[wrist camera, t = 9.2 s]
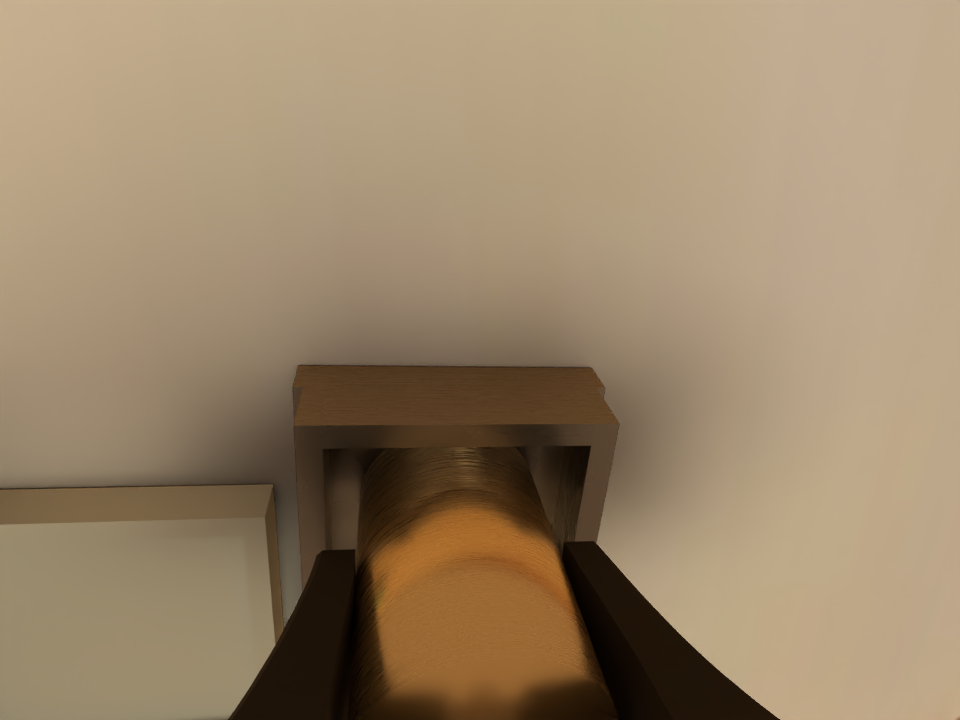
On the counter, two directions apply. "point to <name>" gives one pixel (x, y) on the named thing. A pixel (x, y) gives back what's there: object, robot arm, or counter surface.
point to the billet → (465, 596)
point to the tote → (136, 600)
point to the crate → (448, 437)
